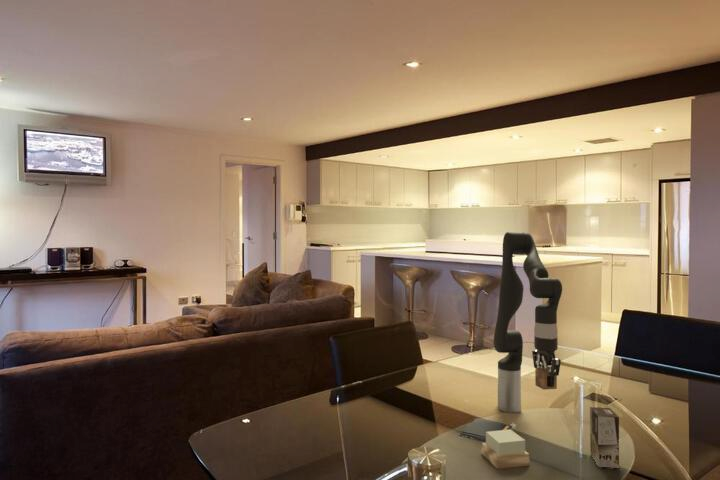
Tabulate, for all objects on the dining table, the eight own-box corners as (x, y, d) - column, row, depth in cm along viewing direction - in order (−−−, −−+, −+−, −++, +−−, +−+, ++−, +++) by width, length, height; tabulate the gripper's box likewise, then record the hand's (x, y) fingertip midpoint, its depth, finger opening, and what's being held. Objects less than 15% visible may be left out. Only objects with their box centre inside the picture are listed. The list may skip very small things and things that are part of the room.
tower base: (481, 454, 159) (481, 442, 159) (511, 451, 161) (511, 439, 161) (497, 470, 148) (497, 457, 148) (529, 466, 150) (529, 454, 150)
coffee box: (620, 469, 147) (619, 417, 147) (597, 467, 148) (597, 415, 148) (610, 456, 156) (610, 407, 156) (589, 454, 157) (589, 406, 157)
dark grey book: (476, 415, 190) (514, 423, 181) (476, 419, 190) (514, 428, 181) (455, 431, 174) (495, 441, 165) (455, 436, 174) (495, 446, 165)
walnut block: (535, 385, 167) (535, 368, 167) (548, 384, 168) (548, 367, 168) (543, 389, 162) (543, 372, 162) (556, 388, 163) (556, 371, 163)
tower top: (485, 443, 158) (485, 431, 158) (510, 441, 160) (510, 429, 160) (499, 455, 149) (499, 442, 149) (525, 452, 151) (525, 440, 151)
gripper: (525, 331, 171) (525, 379, 171) (547, 340, 157) (548, 391, 157) (543, 331, 173) (544, 377, 173) (568, 339, 159) (568, 390, 159)
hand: (545, 384), depth 165 cm, fingers closed on walnut block, 5 cm apart
